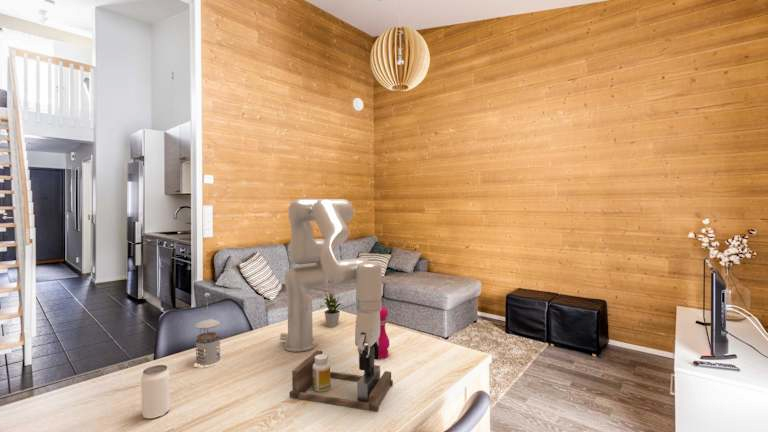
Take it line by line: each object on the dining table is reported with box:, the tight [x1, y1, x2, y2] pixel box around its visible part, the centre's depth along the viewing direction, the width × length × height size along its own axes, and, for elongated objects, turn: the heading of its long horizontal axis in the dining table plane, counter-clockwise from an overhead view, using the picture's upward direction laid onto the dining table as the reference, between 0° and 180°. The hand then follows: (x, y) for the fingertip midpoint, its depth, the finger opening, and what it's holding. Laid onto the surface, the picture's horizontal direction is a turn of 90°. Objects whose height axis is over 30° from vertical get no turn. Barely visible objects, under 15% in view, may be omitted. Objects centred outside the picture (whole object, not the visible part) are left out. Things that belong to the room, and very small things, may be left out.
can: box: [140, 364, 171, 417], centre depth 101 cm, size 6×6×12 cm
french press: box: [194, 292, 222, 366], centre depth 134 cm, size 10×12×25 cm
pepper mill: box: [378, 305, 390, 360], centre depth 138 cm, size 7×7×20 cm
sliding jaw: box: [356, 346, 381, 403], centre depth 110 cm, size 3×12×14 cm, turn 163°
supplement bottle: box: [312, 353, 331, 393], centre depth 114 cm, size 5×5×10 cm
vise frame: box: [288, 350, 394, 413], centre depth 112 cm, size 27×16×8 cm, turn 73°
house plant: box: [318, 290, 347, 328], centre depth 173 cm, size 14×14×16 cm
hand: (369, 363), depth 110 cm, fingers open, 7 cm apart
